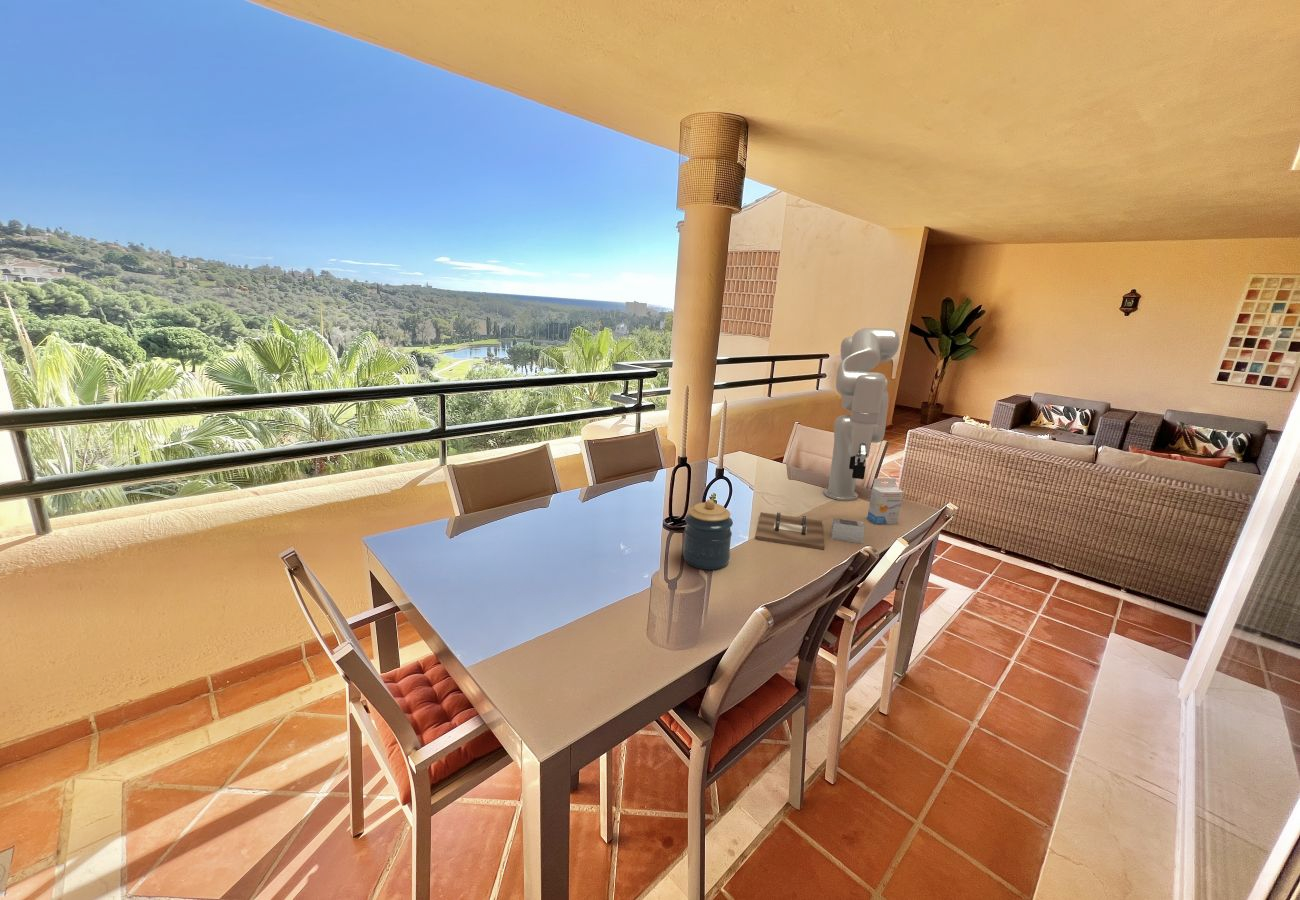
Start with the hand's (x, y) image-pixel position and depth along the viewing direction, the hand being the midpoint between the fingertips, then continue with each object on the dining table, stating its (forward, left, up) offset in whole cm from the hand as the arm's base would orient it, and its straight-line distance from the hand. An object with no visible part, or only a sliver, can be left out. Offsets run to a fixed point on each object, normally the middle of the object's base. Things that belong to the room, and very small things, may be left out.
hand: (856, 473), depth 150 cm
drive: (0, 0, -21) cm, 21 cm away
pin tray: (+1, -17, -21) cm, 27 cm away
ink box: (-19, +13, -21) cm, 32 cm away
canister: (+29, -39, -21) cm, 53 cm away
